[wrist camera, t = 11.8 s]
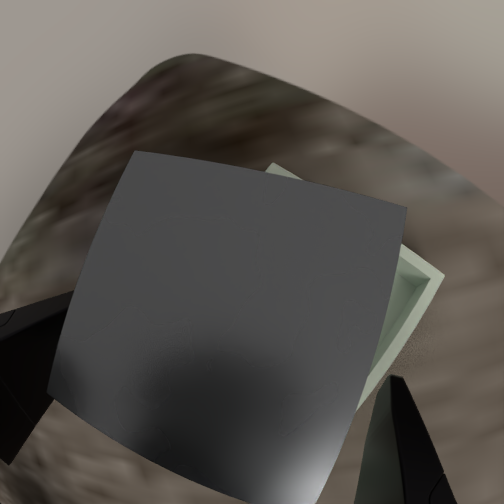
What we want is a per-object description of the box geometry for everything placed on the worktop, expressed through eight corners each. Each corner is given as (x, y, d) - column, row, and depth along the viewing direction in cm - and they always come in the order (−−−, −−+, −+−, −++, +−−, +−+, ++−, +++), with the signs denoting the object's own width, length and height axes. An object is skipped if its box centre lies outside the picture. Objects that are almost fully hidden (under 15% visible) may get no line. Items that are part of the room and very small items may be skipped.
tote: (268, 488, 15) (261, 510, 12) (132, 372, 18) (106, 374, 16) (425, 286, 17) (444, 275, 14) (278, 187, 20) (272, 162, 17)
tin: (309, 407, 16) (307, 519, 4) (203, 371, 17) (46, 392, 6) (344, 299, 17) (406, 207, 6) (238, 269, 18) (134, 150, 7)
